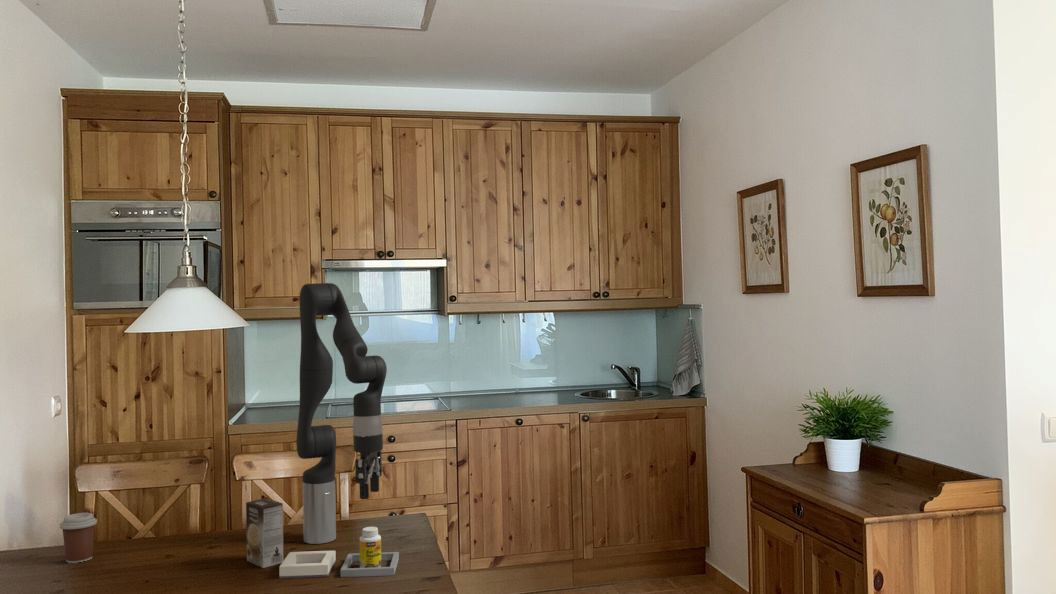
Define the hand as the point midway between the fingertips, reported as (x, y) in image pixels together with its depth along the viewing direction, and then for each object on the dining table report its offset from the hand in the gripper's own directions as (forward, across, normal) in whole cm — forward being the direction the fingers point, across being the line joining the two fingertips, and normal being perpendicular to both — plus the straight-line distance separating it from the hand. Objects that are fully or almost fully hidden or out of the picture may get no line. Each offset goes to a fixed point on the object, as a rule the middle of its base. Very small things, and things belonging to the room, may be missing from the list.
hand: (369, 495), depth 215 cm
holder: (+19, +2, -16) cm, 25 cm away
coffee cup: (+18, -1, -83) cm, 85 cm away
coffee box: (+19, -4, -31) cm, 36 cm away
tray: (+19, -1, -1) cm, 19 cm away
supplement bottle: (+19, -1, -1) cm, 19 cm away
